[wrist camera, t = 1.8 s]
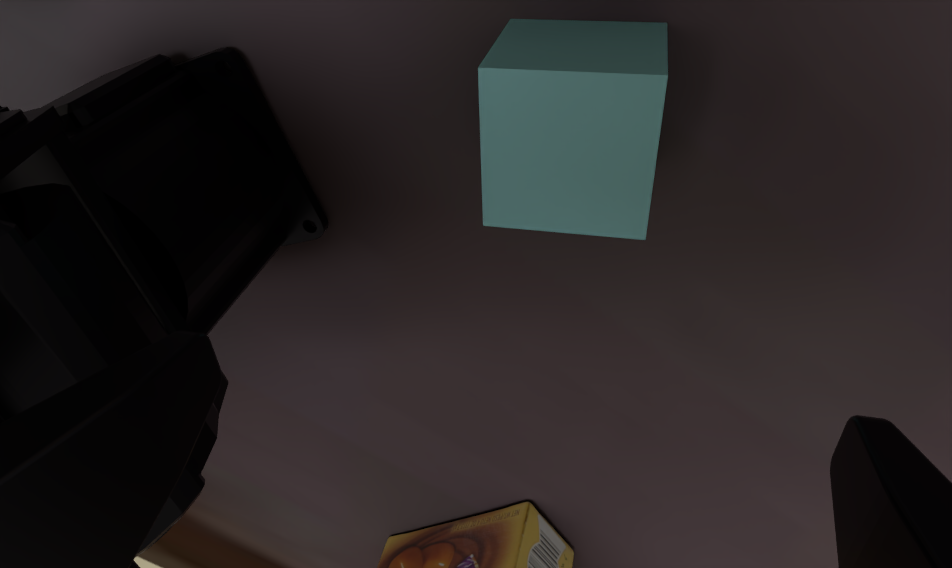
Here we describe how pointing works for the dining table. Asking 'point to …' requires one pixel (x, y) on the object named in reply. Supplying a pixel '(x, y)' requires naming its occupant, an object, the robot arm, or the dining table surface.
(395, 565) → the candy box
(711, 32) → the dining table surface
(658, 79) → the teal block
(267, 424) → the dining table surface
